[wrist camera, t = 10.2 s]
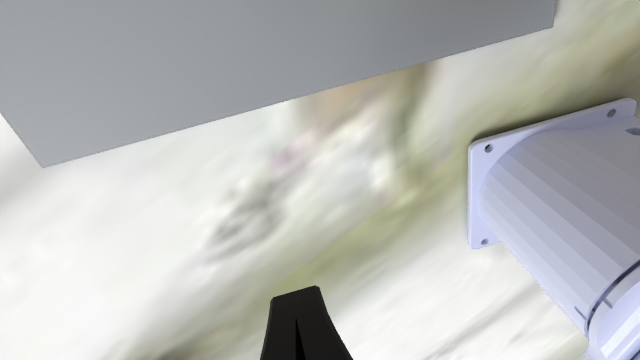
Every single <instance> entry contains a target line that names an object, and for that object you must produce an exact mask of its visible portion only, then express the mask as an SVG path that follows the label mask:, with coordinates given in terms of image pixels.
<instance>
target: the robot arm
mask: <svg viewBox="0 0 640 360" xmlns="http://www.w3.org/2000/svg"><path fill="white" fill-rule="evenodd" d="M636 107H637V102H636V100H634V99H631V98H624V99H620V100H617V101H613V102H609V103H606V104H602V105H599V106H595V107H592V108H588V109H585V110H581V111H578V112H574V113H571V114H567V115H564V116H560V117H557V118H553V119H550V120H546V121H543V122H539V123H536V124H532V125H528V126H525V127H521V128H518V129H514V130H511V131H507V132H504V133H500V134H497V135H493V136H490V137H486V138H483V139H479V140H476V141H474V142H473V143H472V144H471V145H470V146H469V149H468V228H467V243H468V245H469V247H470V248H471V249H479V248H482V247H486V246H489V245H493V244H496V243H499V242H502V243H503V244H504V246H505V247H506V248H507V249H508V250H509V251H510V252H511V254H512V255H513V256H514V257H515V258H516V259H517V260H518V262H519V263H520V264H521V265H522V266H523V267H524V268H525V269H526V271H527V272H528V273H529V274H530V275H531V276H532V277H533V279H534V280H535V281H536V282H537V283H538V284H539V285H540V286H541V288H542V289H543V290H544V291H545V292H546V293H547V294H548V296H549V297H550V298H551V299H552V300H553V301H554V302H555V303H556V305H557V306H558V307H559V308H560V309H561V310H562V311H563V313H564V314H565V315H566V316H567V317H568V318H569V319H570V320H571V322H572V323H573V324H574V325H575V326H576V327H577V328H578V330H579V331H580V332H581V333H582V334H583V335H584V336H585V337H586V339H587V340H588V341H589V346H588V348H587V350H586V351H585V352H584V354H583V358H584V359H585V360H640V118H637V117H635V116H634V114H635V111H636ZM608 112H609V113H608ZM489 144H490V145H489ZM487 145H489V147H488V148H487V149H485V147H486V146H487ZM260 360H353V358H352V357H351V355H350V353H349V352H348V350H347V348H346V347H345V345H344V343H343V341H342V340H341V338H340V336H339V334H338V332H337V331H336V329H335V327H334V325H333V323H332V321H331V318H330V316H329V314H328V312H327V309H326V306H325V303H324V300H323V297H322V294H321V291H320V288H319V287H318V286H315V285H314V286H311V287H307V288H304V289H301V290H297V291H294V292H290V293H287V294H283V295H280V296H277V297H273V299H272V300H271V302H270V311H269V318H268V324H267V329H266V335H265V339H264V344H263V349H262V353H261V357H260Z"/></svg>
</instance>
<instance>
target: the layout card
mask: <svg viewBox="0 0 640 360" xmlns="http://www.w3.org/2000/svg"><path fill="white" fill-rule="evenodd" d="M556 1H557V0H0V113H1V114H2V116H3V117H4V118H5V120H6V121H7V122H8V124H9V125H10V126H11V128H12V129H13V130H14V132H15V133H16V134H17V135H18V137H19V138H20V139H21V141H22V142H23V143H24V145H25V146H26V147H27V149H28V150H29V151H30V153H31V154H32V155H33V157H34V158H35V159H36V160H37V162H38V163H39V164H40V166H41V167H42V168H46V167H49V166H53V165H56V164H60V163H64V162H67V161H71V160H74V159H78V158H82V157H85V156H89V155H92V154H96V153H100V152H103V151H107V150H111V149H114V148H118V147H121V146H125V145H129V144H132V143H136V142H139V141H143V140H147V139H150V138H154V137H158V136H161V135H165V134H168V133H172V132H176V131H179V130H183V129H186V128H190V127H194V126H197V125H201V124H205V123H208V122H212V121H215V120H219V119H223V118H226V117H230V116H233V115H237V114H241V113H244V112H248V111H252V110H255V109H259V108H262V107H266V106H270V105H273V104H277V103H280V102H284V101H288V100H291V99H295V98H299V97H302V96H306V95H309V94H313V93H317V92H320V91H324V90H327V89H331V88H335V87H338V86H342V85H346V84H349V83H353V82H356V81H360V80H364V79H367V78H371V77H374V76H378V75H382V74H385V73H389V72H393V71H396V70H400V69H403V68H407V67H411V66H414V65H418V64H421V63H425V62H429V61H432V60H436V59H439V58H443V57H447V56H450V55H454V54H458V53H461V52H465V51H468V50H472V49H476V48H479V47H483V46H486V45H490V44H494V43H497V42H501V41H505V40H508V39H512V38H515V37H519V36H523V35H526V34H530V33H533V32H537V31H541V30H544V29H548V28H552V27H553V24H554V16H555V9H556Z"/></svg>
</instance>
